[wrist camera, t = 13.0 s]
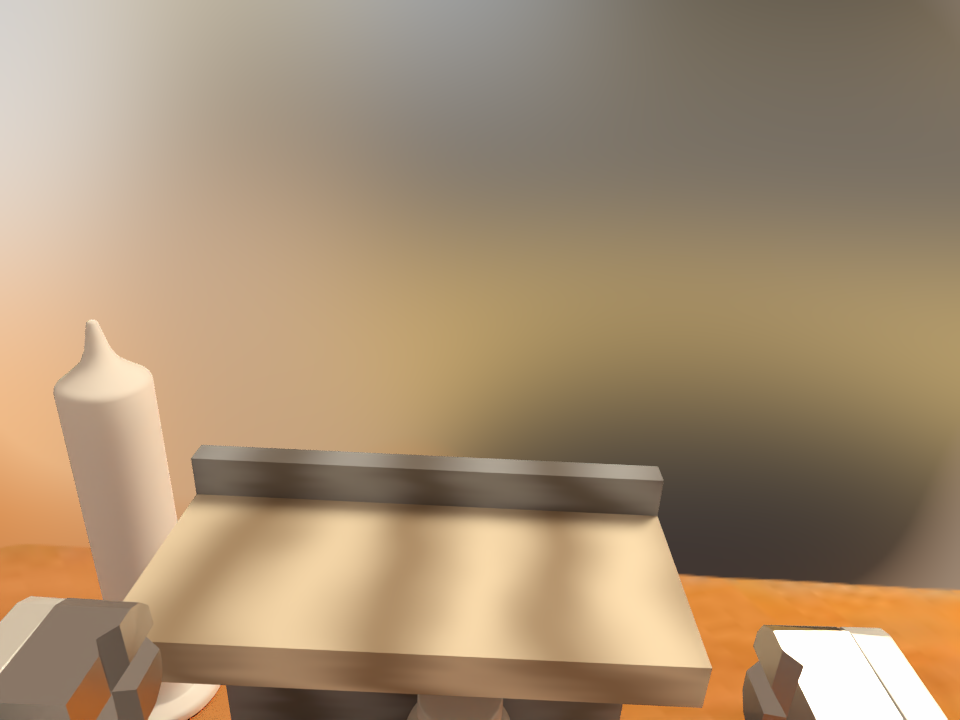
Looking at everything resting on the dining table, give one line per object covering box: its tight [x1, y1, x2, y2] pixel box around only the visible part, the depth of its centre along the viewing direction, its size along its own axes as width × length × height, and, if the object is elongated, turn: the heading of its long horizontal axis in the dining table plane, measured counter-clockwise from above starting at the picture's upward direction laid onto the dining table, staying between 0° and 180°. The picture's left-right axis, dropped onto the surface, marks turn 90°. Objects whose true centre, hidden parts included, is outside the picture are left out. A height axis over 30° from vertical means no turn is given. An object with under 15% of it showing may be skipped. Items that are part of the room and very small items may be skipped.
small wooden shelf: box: [123, 445, 712, 720], centre depth 32 cm, size 22×10×20 cm, turn 89°
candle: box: [53, 319, 220, 720], centre depth 38 cm, size 7×7×25 cm
